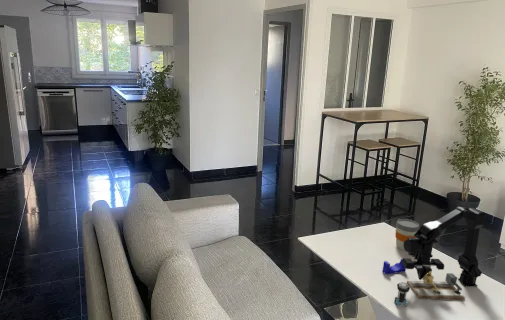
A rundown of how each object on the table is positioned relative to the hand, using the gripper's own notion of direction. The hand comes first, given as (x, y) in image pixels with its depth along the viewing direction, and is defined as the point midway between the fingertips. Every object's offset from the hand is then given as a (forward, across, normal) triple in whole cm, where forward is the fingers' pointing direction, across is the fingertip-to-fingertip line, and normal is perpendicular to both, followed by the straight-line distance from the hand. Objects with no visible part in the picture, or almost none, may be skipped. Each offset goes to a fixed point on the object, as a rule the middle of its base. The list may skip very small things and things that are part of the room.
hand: (419, 279), depth 187 cm
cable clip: (+5, +7, -15) cm, 17 cm away
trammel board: (+4, -7, +3) cm, 9 cm away
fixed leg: (+3, -16, +3) cm, 16 cm away
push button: (+4, +14, +14) cm, 20 cm away
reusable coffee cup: (+5, -12, -42) cm, 44 cm away
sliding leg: (+2, -4, +3) cm, 5 cm away
